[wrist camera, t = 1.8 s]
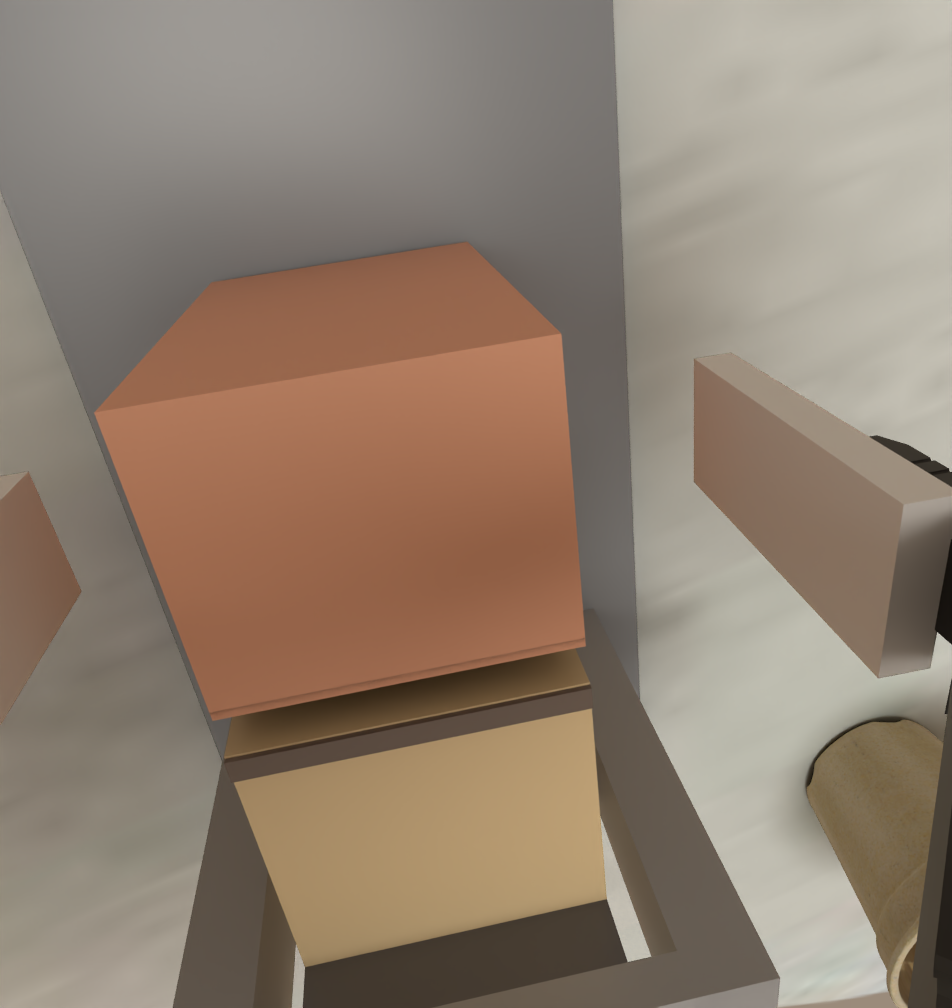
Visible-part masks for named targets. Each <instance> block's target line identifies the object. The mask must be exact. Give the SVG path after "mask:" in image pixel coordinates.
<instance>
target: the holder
mask: <svg viewBox="0 0 952 1008" xmlns="http://www.w3.org/2000/svg"><path fill="white" fill-rule="evenodd" d="M0 191H1V194H2V196H3V199H4V201H5V204H6V207H7V209H8V212H9V214H10V217H11V219H12V222H13V225H14V227H15V230H16V232H17V235H18V237H19V240H20V243H21V245H22V248H23V250H24V253H25V255H26V258H27V261H28V263H29V266H30V268H31V271H32V273H33V276H34V279H35V281H36V284H37V286H38V289H39V291H40V294H41V297H42V299H43V302H44V304H45V307H46V309H47V312H48V315H49V317H50V320H51V322H52V325H53V327H54V330H55V333H56V335H57V338H58V340H59V343H60V345H61V348H62V351H63V353H64V356H65V358H66V361H67V363H68V366H69V369H70V371H71V374H72V376H73V379H74V381H75V384H76V387H77V389H78V392H79V394H80V397H81V399H82V402H83V405H84V407H85V410H86V412H87V415H88V417H89V420H90V423H91V425H92V428H93V430H94V433H95V435H96V438H97V441H98V443H99V446H100V448H101V451H102V453H103V456H104V459H105V461H106V464H107V466H108V469H109V471H110V474H111V477H112V479H113V482H114V484H115V487H116V489H117V492H118V495H119V497H120V500H121V502H122V505H123V507H124V510H125V513H126V515H127V518H128V520H129V523H130V525H131V528H132V531H133V533H134V536H135V538H136V541H137V543H138V546H139V549H140V551H141V554H142V556H143V559H144V561H145V564H146V567H147V569H148V572H149V574H150V577H151V579H152V582H153V585H154V587H155V590H156V592H157V595H158V598H159V600H160V603H161V605H162V608H163V610H164V613H165V615H166V618H167V621H168V623H169V626H170V628H171V631H172V634H173V636H174V639H175V641H176V644H177V646H178V649H179V652H180V654H181V657H182V659H183V662H184V664H185V667H186V670H187V672H188V675H189V677H190V680H191V682H192V685H193V688H194V690H195V693H196V695H197V698H198V700H199V703H200V706H201V708H202V711H203V713H204V716H205V718H206V721H207V724H208V726H209V729H210V731H211V734H212V736H213V739H214V742H215V744H216V747H217V749H218V752H219V754H220V757H221V760H222V766H221V771H220V776H219V781H218V786H217V791H216V796H215V801H214V806H213V811H212V816H211V821H210V826H209V831H208V835H207V840H206V845H205V850H204V855H203V860H202V865H201V870H200V875H199V880H198V885H197V890H196V895H195V900H194V905H193V910H192V915H191V920H190V924H189V929H188V934H187V939H186V944H185V949H184V954H183V959H182V964H181V969H180V974H179V979H178V984H177V989H176V994H175V999H174V1004H173V1008H292V993H293V978H294V963H295V948H296V945H297V947H298V950H299V953H300V955H301V958H302V960H303V963H304V966H305V979H304V998H303V1008H777V1006H778V995H779V984H780V977H779V975H778V973H777V971H776V969H775V967H774V965H773V963H772V961H771V959H770V957H769V955H768V953H767V951H766V949H765V947H764V945H763V943H762V941H761V939H760V937H759V935H758V933H757V931H756V929H755V927H754V925H753V923H752V921H751V920H750V918H749V916H748V914H747V912H746V910H745V908H744V906H743V904H742V902H741V900H740V898H739V896H738V894H737V892H736V890H735V888H734V886H733V884H732V882H731V880H730V878H729V876H728V874H727V872H726V870H725V868H724V866H723V864H722V862H721V860H720V858H719V856H718V854H717V852H716V850H715V848H714V846H713V844H712V842H711V840H710V838H709V836H708V834H707V832H706V830H705V828H704V826H703V824H702V822H701V820H700V819H699V817H698V815H697V813H696V811H695V809H694V807H693V805H692V803H691V801H690V799H689V797H688V795H687V793H686V791H685V789H684V787H683V785H682V783H681V781H680V779H679V777H678V775H677V773H676V771H675V769H674V767H673V765H672V763H671V761H670V759H669V757H668V755H667V753H666V751H665V749H664V747H663V745H662V743H661V741H660V739H659V737H658V735H657V733H656V731H655V729H654V727H653V725H652V723H651V721H650V719H649V717H648V716H647V714H646V712H645V710H644V708H643V706H642V704H641V702H640V691H639V665H638V639H637V613H636V588H635V562H634V536H633V510H632V485H631V459H630V433H629V408H628V382H627V356H626V330H625V305H624V279H623V253H622V227H621V202H620V176H619V150H618V124H617V99H616V73H615V47H614V21H613V0H0ZM462 242H468V243H469V244H470V245H471V246H472V247H473V248H474V249H475V250H476V251H477V252H478V253H479V254H481V255H482V256H483V257H484V258H485V259H486V260H487V261H488V262H489V263H490V264H491V265H492V266H493V267H494V268H495V269H496V270H497V271H498V272H499V273H500V274H501V275H502V276H503V277H504V278H505V279H506V280H507V281H508V282H509V283H510V284H511V285H512V286H513V287H514V288H515V289H516V290H517V291H518V292H519V293H520V294H521V295H522V296H523V297H524V298H526V299H527V300H528V301H529V302H530V303H531V304H532V305H533V306H534V307H535V308H536V309H537V310H538V311H539V312H540V313H541V314H542V315H543V316H544V317H545V318H546V319H547V320H548V321H549V322H550V323H551V324H552V325H553V326H554V327H555V328H556V329H557V330H558V331H559V332H560V333H561V335H562V348H563V360H564V373H565V386H566V399H567V412H568V424H569V437H570V450H571V463H572V475H573V488H574V501H575V514H576V526H577V539H578V552H579V565H580V578H581V590H582V603H583V616H584V629H585V641H586V646H584V647H579V648H574V649H569V650H564V651H559V652H554V653H549V654H544V655H539V656H534V657H529V658H524V659H519V660H514V661H509V662H504V663H499V664H494V665H489V666H484V667H479V668H474V669H469V670H464V671H459V672H454V673H450V674H445V675H440V676H435V677H430V678H425V679H420V680H415V681H410V682H405V683H400V684H395V685H390V686H385V687H380V688H375V689H370V690H365V691H360V692H355V693H350V694H345V695H340V696H335V697H330V698H325V699H320V700H315V701H310V702H305V703H300V704H295V705H290V706H285V707H280V708H275V709H270V710H265V711H260V712H255V713H250V714H245V715H240V716H235V717H230V718H225V719H220V720H215V721H212V718H211V716H210V713H209V711H208V708H207V705H206V703H205V700H204V698H203V695H202V692H201V690H200V687H199V685H198V682H197V679H196V677H195V674H194V672H193V669H192V666H191V664H190V661H189V659H188V656H187V653H186V651H185V648H184V646H183V643H182V640H181V638H180V635H179V632H178V630H177V627H176V625H175V622H174V619H173V617H172V614H171V612H170V609H169V606H168V604H167V601H166V599H165V596H164V593H163V591H162V588H161V586H160V583H159V580H158V578H157V575H156V573H155V570H154V567H153V565H152V562H151V560H150V557H149V554H148V552H147V549H146V547H145V544H144V541H143V539H142V536H141V534H140V531H139V528H138V526H137V523H136V521H135V518H134V515H133V513H132V510H131V508H130V505H129V502H128V500H127V497H126V494H125V492H124V489H123V487H122V484H121V481H120V479H119V476H118V474H117V471H116V468H115V466H114V463H113V461H112V458H111V455H110V453H109V450H108V448H107V445H106V442H105V440H104V437H103V435H102V432H101V429H100V427H99V424H98V422H97V419H96V416H95V414H94V412H95V411H96V410H97V409H98V408H99V407H100V406H101V404H102V403H103V402H104V401H105V400H106V399H107V398H108V397H109V396H110V394H111V393H112V392H113V391H114V390H115V389H116V388H117V387H118V386H119V384H120V383H121V382H122V381H123V380H124V379H125V378H126V377H127V376H128V374H129V373H130V372H131V371H132V370H133V369H134V368H135V367H136V366H137V364H138V363H139V362H140V361H141V360H142V359H143V358H144V357H145V356H146V354H147V353H148V352H149V351H150V350H151V349H152V348H153V347H154V346H155V344H156V343H157V342H158V341H159V340H160V339H161V338H162V337H163V336H164V334H165V333H166V332H167V331H168V330H169V329H170V328H171V327H172V326H173V324H174V323H175V322H176V321H177V320H178V319H179V318H180V317H181V316H182V314H183V313H184V312H185V311H186V310H187V309H188V308H189V307H190V306H191V304H192V303H193V302H194V301H195V300H196V299H197V298H198V297H199V296H200V294H201V293H202V292H203V291H204V290H205V289H206V288H207V287H208V286H209V284H210V283H211V282H217V281H223V280H229V279H236V278H242V277H248V276H254V275H261V274H267V273H273V272H280V271H286V270H292V269H299V268H305V267H311V266H317V265H324V264H330V263H336V262H343V261H349V260H355V259H361V258H368V257H374V256H380V255H387V254H393V253H399V252H406V251H412V250H418V249H424V248H431V247H437V246H443V245H450V244H456V243H462ZM600 816H601V819H602V821H603V824H604V827H605V830H606V832H607V835H608V838H609V841H610V843H611V846H612V849H613V852H614V854H615V857H616V860H617V863H618V865H619V868H620V871H621V874H622V876H623V879H624V882H625V885H626V887H627V890H628V893H629V896H630V899H631V901H632V904H633V907H634V910H635V912H636V915H637V918H638V921H639V923H640V926H641V929H642V932H643V934H644V937H645V940H646V943H647V945H648V948H649V951H650V954H651V956H652V957H648V958H644V959H640V960H635V961H631V962H627V959H626V956H625V953H624V950H623V947H622V944H621V941H620V938H619V935H618V932H617V929H616V926H615V923H614V920H613V917H612V914H611V911H610V908H609V905H608V902H607V897H606V884H605V871H604V858H603V845H602V832H601V819H600Z"/></svg>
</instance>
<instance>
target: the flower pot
mask: <svg viewBox="0 0 952 1008" xmlns="http://www.w3.org/2000/svg"><path fill="white" fill-rule="evenodd" d="M942 751H943V742H941V741H940V740H939V739H938V738H937V737H935V736H934V735H933V734H932V733H931V732H930V731H928V730H927V729H926V728H924V727H923V726H921V725H919V724H917V723H915V722H913V721H910V720H901V721H900V722H895V723H890V722H870V723H867V724H864V725H862V726H859V727H857V728H855V729H853V730H851V731H849V732H848V733H846V734H845V735H843V736H842V737H840V738H839V739H838V740H836V741H835V742H834V743H833V744H831V745H830V746H829V747H828V748H827V749H826V750H825V751H824V752H823V753H822V754H821V755H820V757H819V758H818V759H817V761H816V762H815V765H814V773H813V777H812V781H811V783H810V785H809V786H808V787H807V796H808V799H809V803H810V805H811V807H812V808H813V810H814V812H815V814H816V816H817V818H818V820H819V822H820V824H821V826H822V828H823V830H824V832H825V833H826V835H827V837H828V839H829V841H830V843H831V845H832V847H833V849H834V851H835V853H836V855H837V857H838V859H839V861H840V863H841V865H842V867H843V869H844V871H845V873H846V875H847V877H848V879H849V881H850V883H851V885H852V887H853V889H854V891H855V893H856V895H857V897H858V899H859V901H860V903H861V905H862V907H863V909H864V911H865V913H866V915H867V917H868V919H869V921H870V923H871V926H872V928H873V930H874V932H875V934H876V944H877V949H878V952H879V955H880V957H881V959H882V961H883V963H884V965H885V967H886V969H887V988H888V991H889V993H890V996H891V998H892V1000H893V1001H894V1003H895V1005H896V1006H897V1007H898V1008H908V1000H909V993H910V986H911V978H912V971H913V964H914V956H915V949H916V942H917V934H918V927H919V920H920V912H921V905H922V898H923V890H924V883H925V875H926V868H927V861H928V853H929V846H930V839H931V831H932V824H933V817H934V809H935V802H936V795H937V787H938V780H939V773H940V765H941V758H942Z"/></svg>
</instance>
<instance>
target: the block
mask: <svg viewBox="0 0 952 1008" xmlns="http://www.w3.org/2000/svg"><path fill="white" fill-rule="evenodd" d="M94 414H95V416H96V419H97V422H98V424H99V427H100V429H101V432H102V435H103V437H104V440H105V442H106V445H107V448H108V450H109V453H110V455H111V458H112V461H113V463H114V466H115V468H116V471H117V474H118V476H119V479H120V481H121V484H122V487H123V489H124V492H125V494H126V497H127V500H128V502H129V505H130V508H131V510H132V513H133V515H134V518H135V521H136V523H137V526H138V528H139V531H140V534H141V536H142V539H143V541H144V544H145V547H146V549H147V552H148V554H149V557H150V560H151V562H152V565H153V567H154V570H155V573H156V575H157V578H158V580H159V583H160V586H161V588H162V591H163V593H164V596H165V599H166V601H167V604H168V606H169V609H170V612H171V614H172V617H173V619H174V622H175V625H176V627H177V630H178V632H179V635H180V638H181V640H182V643H183V646H184V648H185V651H186V653H187V656H188V659H189V661H190V664H191V666H192V669H193V672H194V674H195V677H196V679H197V682H198V685H199V687H200V690H201V692H202V695H203V698H204V700H205V703H206V705H207V708H208V711H209V713H210V716H211V718H212V721H215V720H220V719H225V718H230V717H235V716H240V715H245V714H250V713H255V712H260V711H265V710H270V709H275V708H280V707H285V706H290V705H295V704H300V703H305V702H310V701H315V700H320V699H325V698H330V697H335V696H340V695H345V694H350V693H355V692H360V691H365V690H370V689H375V688H380V687H385V686H390V685H395V684H400V683H405V682H410V681H415V680H420V679H425V678H430V677H435V676H440V675H445V674H450V673H454V672H459V671H464V670H469V669H474V668H479V667H484V666H489V665H494V664H499V663H504V662H509V661H514V660H519V659H524V658H529V657H534V656H539V655H544V654H549V653H554V652H559V651H564V650H569V649H574V648H579V647H584V646H586V641H585V629H584V616H583V603H582V590H581V578H580V565H579V552H578V539H577V526H576V514H575V501H574V488H573V475H572V463H571V450H570V437H569V424H568V412H567V399H566V386H565V373H564V360H563V348H562V335H561V333H560V332H559V331H558V330H557V329H556V328H555V327H554V326H553V325H552V324H551V323H550V322H549V321H548V320H547V319H546V318H545V317H544V316H543V315H542V314H541V313H540V312H539V311H538V310H537V309H536V308H535V307H534V306H533V305H532V304H531V303H530V302H529V301H528V300H527V299H526V298H524V297H523V296H522V295H521V294H520V293H519V292H518V291H517V290H516V289H515V288H514V287H513V286H512V285H511V284H510V283H509V282H508V281H507V280H506V279H505V278H504V277H503V276H502V275H501V274H500V273H499V272H498V271H497V270H496V269H495V268H494V267H493V266H492V265H491V264H490V263H489V262H488V261H487V260H486V259H485V258H484V257H483V256H482V255H481V254H479V253H478V252H477V251H476V250H475V249H474V248H473V247H472V246H471V245H470V244H469V243H468V242H462V243H456V244H450V245H443V246H437V247H431V248H424V249H418V250H412V251H406V252H399V253H393V254H387V255H380V256H374V257H368V258H361V259H355V260H349V261H343V262H336V263H330V264H324V265H317V266H311V267H305V268H299V269H292V270H286V271H280V272H273V273H267V274H261V275H254V276H248V277H242V278H236V279H229V280H223V281H217V282H211V283H210V284H209V286H208V287H207V288H206V289H205V290H204V291H203V292H202V293H201V294H200V296H199V297H198V298H197V299H196V300H195V301H194V302H193V303H192V304H191V306H190V307H189V308H188V309H187V310H186V311H185V312H184V313H183V314H182V316H181V317H180V318H179V319H178V320H177V321H176V322H175V323H174V324H173V326H172V327H171V328H170V329H169V330H168V331H167V332H166V333H165V334H164V336H163V337H162V338H161V339H160V340H159V341H158V342H157V343H156V344H155V346H154V347H153V348H152V349H151V350H150V351H149V352H148V353H147V354H146V356H145V357H144V358H143V359H142V360H141V361H140V362H139V363H138V364H137V366H136V367H135V368H134V369H133V370H132V371H131V372H130V373H129V374H128V376H127V377H126V378H125V379H124V380H123V381H122V382H121V383H120V384H119V386H118V387H117V388H116V389H115V390H114V391H113V392H112V393H111V394H110V396H109V397H108V398H107V399H106V400H105V401H104V402H103V403H102V404H101V406H100V407H99V408H98V409H97V410H96V411H95V412H94Z"/></svg>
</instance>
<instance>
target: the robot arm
mask: <svg viewBox="0 0 952 1008" xmlns="http://www.w3.org/2000/svg"><path fill="white" fill-rule="evenodd" d="M694 482H695V483H696V484H697V485H698V486H699V488H700V489H701V490H702V491H703V492H704V493H705V494H706V495H707V496H708V497H709V498H710V499H711V500H712V501H713V502H714V504H715V505H716V506H717V507H718V508H719V509H720V510H721V511H722V512H723V513H724V514H725V515H726V516H727V517H728V518H729V520H730V521H731V522H732V523H733V524H734V525H735V526H736V527H737V528H738V529H739V530H740V531H741V532H742V533H743V534H744V536H745V537H746V538H747V539H748V540H749V541H750V542H751V543H752V544H753V545H754V546H755V547H756V548H757V549H758V551H759V552H760V553H761V554H762V555H763V556H764V557H765V558H766V559H767V560H768V561H769V562H770V563H771V564H772V565H773V567H774V568H775V569H776V570H777V571H778V572H779V573H780V574H781V575H782V576H783V577H784V578H785V579H786V580H787V581H788V583H789V584H790V585H791V586H792V587H793V588H794V589H795V590H796V591H797V592H798V593H799V594H800V595H801V596H802V597H803V599H804V600H805V601H806V602H807V603H808V604H809V605H810V606H811V607H812V608H813V609H814V610H815V611H816V612H817V613H818V615H819V616H820V617H821V618H822V619H823V620H824V621H825V622H826V623H827V624H828V625H829V626H830V627H831V628H832V629H833V631H834V632H835V633H836V634H837V635H838V636H839V637H840V638H841V639H842V640H843V641H844V642H845V643H846V644H847V645H848V647H849V648H850V649H851V650H852V651H853V652H854V653H855V654H856V655H857V656H858V657H859V658H860V659H861V660H862V661H863V663H864V664H865V665H866V666H867V667H868V668H869V669H870V670H871V671H872V672H873V673H874V674H875V675H876V676H877V678H883V677H888V676H893V675H898V674H903V673H908V672H913V671H918V670H924V669H929V668H930V667H931V662H932V656H933V651H934V646H935V640H936V635H937V632H938V633H939V634H940V635H941V636H943V637H944V638H945V639H946V640H947V641H948V642H949V643H951V644H952V472H950V471H949V468H947V467H945V466H944V465H942V464H940V463H938V462H937V461H931V459H930V457H928V456H926V455H925V454H923V453H921V452H919V451H918V450H916V449H914V448H913V447H911V446H909V445H907V444H904V443H900V442H897V441H894V440H890V439H887V438H883V437H880V436H877V435H876V436H870V437H869V436H867V435H865V434H864V433H862V432H860V431H859V430H857V429H855V428H854V427H852V426H850V425H849V424H847V423H846V422H844V421H842V420H841V419H839V418H837V417H836V416H834V415H832V414H831V413H829V412H828V411H826V410H824V409H823V408H821V407H819V406H818V405H816V404H814V403H813V402H811V401H810V400H808V399H806V398H805V397H803V396H801V395H800V394H798V393H796V392H795V391H793V390H791V389H790V388H788V387H787V386H785V385H783V384H782V383H780V382H778V381H777V380H775V379H773V378H772V377H770V376H769V375H767V374H765V373H764V372H762V371H760V370H759V369H757V368H755V367H754V366H752V365H750V364H749V363H747V362H746V361H744V360H742V359H741V358H739V357H737V356H736V355H734V354H732V353H725V354H720V355H714V356H708V357H702V358H696V359H694ZM80 593H81V589H80V587H79V585H78V583H77V580H76V578H75V576H74V573H73V571H72V569H71V567H70V564H69V562H68V560H67V558H66V555H65V553H64V551H63V549H62V546H61V544H60V542H59V540H58V537H57V535H56V533H55V531H54V528H53V526H52V524H51V521H50V519H49V517H48V515H47V512H46V510H45V508H44V506H43V503H42V501H41V499H40V497H39V494H38V492H37V490H36V488H35V485H34V483H33V481H32V478H31V476H30V474H29V472H23V473H17V474H11V475H5V476H0V725H1V723H2V722H3V720H4V719H5V717H6V715H7V714H8V712H9V710H10V709H11V707H12V705H13V704H14V702H15V700H16V699H17V697H18V695H19V694H20V692H21V690H22V689H23V687H24V686H25V684H26V682H27V681H28V679H29V677H30V676H31V674H32V672H33V671H34V669H35V667H36V666H37V664H38V662H39V661H40V659H41V657H42V656H43V654H44V652H45V651H46V649H47V648H48V646H49V644H50V643H51V641H52V639H53V638H54V636H55V634H56V633H57V631H58V629H59V628H60V626H61V624H62V623H63V621H64V619H65V618H66V616H67V615H68V613H69V611H70V610H71V608H72V606H73V605H74V603H75V601H76V600H77V598H78V596H79V595H80ZM945 714H947V721H946V729H945V736H944V743H943V751H942V758H941V765H940V773H939V780H938V787H937V795H936V802H935V809H934V817H933V824H932V831H931V839H930V846H929V853H928V861H927V868H926V875H925V883H924V890H923V898H922V905H921V912H920V920H919V927H918V934H917V942H916V949H915V956H914V964H913V971H912V978H911V986H910V993H909V1000H908V1008H952V680H951V685H950V690H949V695H948V700H947V705H946V710H945Z"/></svg>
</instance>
